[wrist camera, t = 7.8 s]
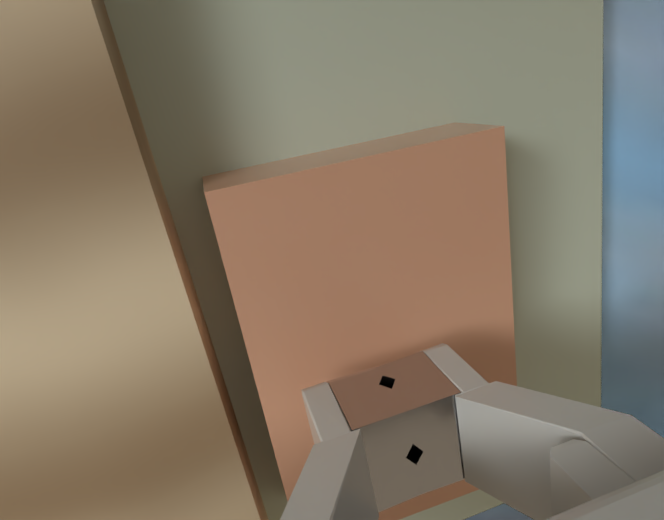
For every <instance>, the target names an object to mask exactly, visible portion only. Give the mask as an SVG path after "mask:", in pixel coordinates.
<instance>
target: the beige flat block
mask: <svg viewBox="0 0 664 520" xmlns="http://www.w3.org/2000/svg"><path fill="white" fill-rule="evenodd" d="M0 520H269V519H268V516H267V513H266V510H265V507H264V503H263V500H262V497H261V494H260V491H259V488H258V485H257V481H256V478H255V475H254V472H253V469H252V466H251V463H250V459H249V456H248V453H247V450H246V447H245V444H244V441H243V438H242V434H241V431H240V428H239V425H238V422H237V419H236V416H235V412H234V409H233V406H232V403H231V400H230V397H229V394H228V390H227V387H226V384H225V381H224V378H223V375H222V372H221V368H220V365H219V362H218V359H217V356H216V353H215V350H214V346H213V343H212V340H211V337H210V334H209V331H208V328H207V324H206V321H205V318H204V315H203V312H202V309H201V306H200V302H199V299H198V296H197V293H196V290H195V287H194V284H193V280H192V277H191V274H190V271H189V268H188V265H187V262H186V258H185V255H184V252H183V249H182V246H181V243H180V240H179V236H178V233H177V230H176V227H175V224H174V221H173V218H172V214H171V211H170V208H169V205H168V202H167V199H166V196H165V192H164V189H163V186H162V183H161V180H160V177H159V174H158V170H157V167H156V164H155V161H154V158H153V155H152V152H151V148H150V145H149V142H148V139H147V136H146V133H145V130H144V126H143V123H142V120H141V117H140V114H139V111H138V108H137V105H136V101H135V98H134V95H133V92H132V89H131V86H130V83H129V79H128V76H127V73H126V70H125V67H124V64H123V61H122V57H121V54H120V51H119V48H118V45H117V42H116V39H115V35H114V32H113V29H112V26H111V23H110V20H109V17H108V13H107V10H106V7H105V4H104V1H103V0H0Z"/></svg>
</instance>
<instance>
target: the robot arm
mask: <svg viewBox="0 0 664 520" xmlns="http://www.w3.org/2000/svg"><path fill="white" fill-rule="evenodd" d="M302 397H303V401H304V405H305V409H306V413H307V417H308V421H309V425H310V429H311V433H312V437H313V441H314V445H313V447H312V449H311V451H310V454H309V456H308V458H307V460H306V462H305V465H304V467H303V469H302V471H301V474H300V476H299V478H298V480H297V483H296V485H295V487H294V489H293V492H292V494H291V496H290V498H289V501H288V503H287V505H286V507H285V510H284V512H283V514H282V516H281V519H280V520H378V519H379V512H381V511H383V510H386V509H388V508H390V507H393V506H395V505H398V504H400V503H402V502H405V501H407V500H409V499H412V498H414V497H417V496H419V495H421V494H424V493H427V492H430V491H433V490H436V489H438V488H441V487H444V486H447V485H450V484H453V483H455V482H458V481H461V480H464V479H465V482H467V483H469V484H471V485H473V486H474V487H476V488H478V489H480V490H482V491H483V492H485V493H487V494H489V495H491V496H492V497H494V498H496V499H498V500H500V501H501V502H503V503H505V504H507V505H509V506H511V507H512V508H514V509H516V510H518V511H520V512H521V513H523V514H525V515H527V516H529V517H530V518H532V519H534V520H664V438H663V437H661V436H660V435H659V434H657V433H656V432H654V431H653V430H652V429H650V428H649V427H647V426H646V425H645V424H643V423H642V422H640V421H639V420H637V419H636V418H635V417H633V416H632V415H629V414H625V413H621V412H617V411H613V410H609V409H605V408H601V407H597V406H593V405H589V404H585V403H581V402H577V401H573V400H569V399H565V398H562V397H558V396H554V395H550V394H546V393H542V392H538V391H534V390H530V389H526V388H522V387H518V386H514V385H510V384H506V383H502V382H498V381H495V382H492V383H488V382H487V381H486V380H485V379H484V378H483V377H482V376H481V375H480V374H478V373H477V372H476V371H475V370H474V369H473V368H472V367H471V366H470V365H469V364H468V363H467V362H466V361H464V360H463V359H462V358H461V357H460V356H459V355H458V354H457V353H456V352H455V351H454V350H453V349H451V348H450V347H449V346H448V345H447V344H444V343H441V344H439V345H436V346H433V347H430V348H428V349H425V350H422V351H420V352H418V353H415V354H412V355H409V356H406V357H404V358H401V359H398V360H395V361H392V362H389V363H386V364H383V365H381V366H378V367H372V368H369V369H366V370H362V371H359V372H356V373H353V374H349V375H346V376H343V377H339V378H336V379H333V380H329V381H327V382H323V383H320V384H317V385H314V386H311V387H308V388H305V389H302Z"/></svg>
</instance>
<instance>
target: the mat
mask: <svg viewBox="0 0 664 520" xmlns="http://www.w3.org/2000/svg"><path fill="white" fill-rule="evenodd" d="M103 1H104V4H105V7H106V10H107V13H108V17H109V20H110V23H111V26H112V29H113V32H114V35H115V39H116V42H117V45H118V48H119V51H120V54H121V57H122V61H123V64H124V67H125V70H126V73H127V76H128V79H129V83H130V86H131V89H132V92H133V95H134V98H135V101H136V105H137V108H138V111H139V114H140V117H141V120H142V123H143V126H144V130H145V133H146V136H147V139H148V142H149V145H150V148H151V152H152V155H153V158H154V161H155V164H156V167H157V170H158V174H159V177H160V180H161V183H162V186H163V189H164V192H165V196H166V199H167V202H168V205H169V208H170V211H171V214H172V218H173V221H174V224H175V227H176V230H177V233H178V236H179V240H180V243H181V246H182V249H183V252H184V255H185V258H186V262H187V265H188V268H189V271H190V274H191V277H192V280H193V284H194V287H195V290H196V293H197V296H198V299H199V302H200V306H201V309H202V312H203V315H204V318H205V321H206V324H207V328H208V331H209V334H210V337H211V340H212V343H213V346H214V350H215V353H216V356H217V359H218V362H219V365H220V368H221V372H222V375H223V378H224V381H225V384H226V387H227V390H228V394H229V397H230V400H231V403H232V406H233V409H234V412H235V416H236V419H237V422H238V425H239V428H240V431H241V434H242V438H243V441H244V444H245V447H246V450H247V453H248V456H249V459H250V463H251V466H252V469H253V472H254V475H255V478H256V481H257V485H258V488H259V491H260V494H261V497H262V500H263V503H264V507H265V510H266V513H267V516H268V519H269V520H280V519H281V516H282V514H283V512H284V510H285V507H286V505H287V503H288V501H287V498H286V494H285V490H284V486H283V483H282V479H281V475H280V472H279V468H278V464H277V461H276V457H275V453H274V449H273V446H272V442H271V438H270V435H269V431H268V427H267V424H266V420H265V416H264V412H263V409H262V405H261V401H260V398H259V394H258V390H257V386H256V383H255V379H254V375H253V372H252V368H251V364H250V361H249V357H248V353H247V349H246V346H245V342H244V338H243V335H242V331H241V327H240V323H239V320H238V316H237V312H236V309H235V305H234V301H233V298H232V294H231V290H230V286H229V283H228V279H227V275H226V272H225V268H224V264H223V260H222V257H221V253H220V249H219V246H218V242H217V238H216V235H215V231H214V227H213V223H212V220H211V216H210V212H209V209H208V205H207V201H206V198H205V194H204V187H203V180H202V177H203V176H208V175H213V174H217V173H222V172H227V171H231V170H236V169H240V168H245V167H250V166H254V165H259V164H264V163H268V162H273V161H278V160H282V159H287V158H292V157H296V156H301V155H305V154H310V153H315V152H319V151H324V150H329V149H333V148H338V147H343V146H347V145H352V144H357V143H361V142H366V141H371V140H375V139H380V138H384V137H389V136H394V135H398V134H403V133H408V132H412V131H417V130H422V129H426V128H431V127H436V126H440V125H445V124H450V123H454V122H457V123H471V124H485V125H498V126H504V129H505V149H506V170H507V191H508V211H509V232H510V253H511V273H512V294H513V315H514V335H515V356H516V376H517V386H518V387H522V388H526V389H530V390H534V391H538V392H542V393H546V394H550V395H554V396H558V397H562V398H565V399H569V400H573V401H577V402H581V403H585V404H589V405H593V406H597V407H601V315H602V134H603V0H103ZM501 504H503V502H501V501H500V500H498V499H496V498H494V497H492V496H491V495H489V494H487V493H485V492H483V491H482V490H480V489H479V490H476V491H473V492H471V493H468V494H466V495H463V496H460V497H458V498H455V499H452V500H450V501H447V502H444V503H442V504H439V505H437V506H434V507H431V508H429V509H426V510H423V511H421V512H418V513H415V514H413V515H410V516H408V517H405V518H402V519H400V520H464V519H466V518H469V517H471V516H474V515H476V514H479V513H481V512H483V511H486V510H488V509H491V508H493V507H496V506H498V505H501Z"/></svg>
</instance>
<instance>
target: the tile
mask: <svg viewBox="0 0 664 520" xmlns="http://www.w3.org/2000/svg"><path fill="white" fill-rule="evenodd" d="M202 180H203V187H204V194H205V198H206V201H207V205H208V209H209V212H210V216H211V220H212V223H213V227H214V231H215V235H216V238H217V242H218V246H219V249H220V253H221V257H222V260H223V264H224V268H225V272H226V275H227V279H228V283H229V286H230V290H231V294H232V298H233V301H234V305H235V309H236V312H237V316H238V320H239V323H240V327H241V331H242V335H243V338H244V342H245V346H246V349H247V353H248V357H249V361H250V364H251V368H252V372H253V375H254V379H255V383H256V386H257V390H258V394H259V398H260V401H261V405H262V409H263V412H264V416H265V420H266V424H267V427H268V431H269V435H270V438H271V442H272V446H273V449H274V453H275V457H276V461H277V464H278V468H279V472H280V475H281V479H282V483H283V486H284V490H285V494H286V498H287V501H289V498H290V496H291V494H292V492H293V489H294V487H295V485H296V483H297V480H298V478H299V476H300V474H301V471H302V469H303V467H304V465H305V462H306V460H307V458H308V456H309V454H310V451H311V449H312V447H313V445H314V441H313V437H312V433H311V429H310V425H309V421H308V417H307V413H306V409H305V405H304V401H303V397H302V389H305V388H308V387H311V386H314V385H317V384H320V383H323V382H327V381H329V380H333V379H336V378H339V377H343V376H346V375H349V374H353V373H356V372H359V371H362V370H366V369H369V368H372V367H378V366H381V365H383V364H386V363H389V362H392V361H395V360H398V359H401V358H404V357H406V356H409V355H412V354H415V353H418V352H420V351H422V350H425V349H428V348H430V347H433V346H436V345H439V344H441V343H444V344H447V345H448V346H449V347H450V348H451V349H453V350H454V351H455V352H456V353H457V354H458V355H459V356H460V357H461V358H462V359H463V360H464V361H466V362H467V363H468V364H469V365H470V366H471V367H472V368H473V369H474V370H475V371H476V372H477V373H478V374H480V375H481V376H482V377H483V378H484V379H485V380H486V381H487V382H488V383H492V382H495V381H498V382H502V383H506V384H510V385H514V386H517V376H516V356H515V335H514V315H513V294H512V273H511V253H510V232H509V211H508V191H507V170H506V149H505V129H504V126H498V125H485V124H471V123H457V122H454V123H450V124H445V125H440V126H436V127H431V128H426V129H422V130H417V131H412V132H408V133H403V134H398V135H394V136H389V137H384V138H380V139H375V140H371V141H366V142H361V143H357V144H352V145H347V146H343V147H338V148H333V149H329V150H324V151H319V152H315V153H310V154H305V155H301V156H296V157H292V158H287V159H282V160H278V161H273V162H268V163H264V164H259V165H254V166H250V167H245V168H240V169H236V170H231V171H227V172H222V173H217V174H213V175H208V176H203V177H202ZM476 490H479V489H478V488H476V487H474V486H473V485H471V484H469V483H467V482H465V479H464V480H461V481H458V482H455V483H453V484H450V485H447V486H444V487H441V488H438V489H436V490H433V491H430V492H427V493H424V494H421V495H419V496H417V497H414V498H412V499H409V500H407V501H405V502H402V503H400V504H398V505H395V506H393V507H390V508H388V509H386V510H383V511H381V512H379V519H378V520H400V519H402V518H405V517H408V516H410V515H413V514H415V513H418V512H421V511H423V510H426V509H429V508H431V507H434V506H437V505H439V504H442V503H444V502H447V501H450V500H452V499H455V498H458V497H460V496H463V495H466V494H468V493H471V492H473V491H476Z"/></svg>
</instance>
